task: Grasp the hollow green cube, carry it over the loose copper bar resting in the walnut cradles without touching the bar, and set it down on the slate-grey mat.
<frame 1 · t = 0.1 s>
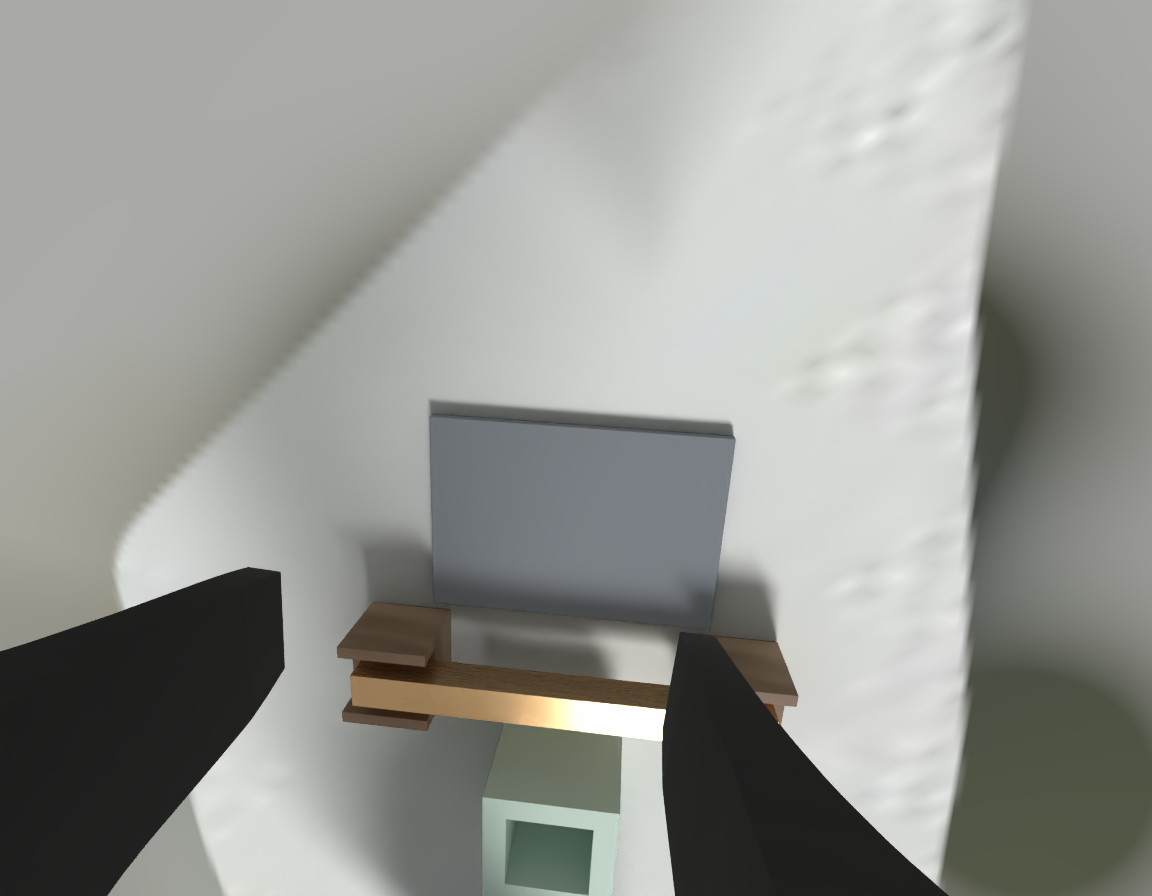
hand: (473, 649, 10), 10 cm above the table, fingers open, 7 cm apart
copper bar: (562, 688, 20), point 2 cm above the table, touching bar stand
hollow green cube: (561, 762, 23), on the table
bar stand: (567, 656, 22), on the table
slate mat: (575, 521, 20), on the table
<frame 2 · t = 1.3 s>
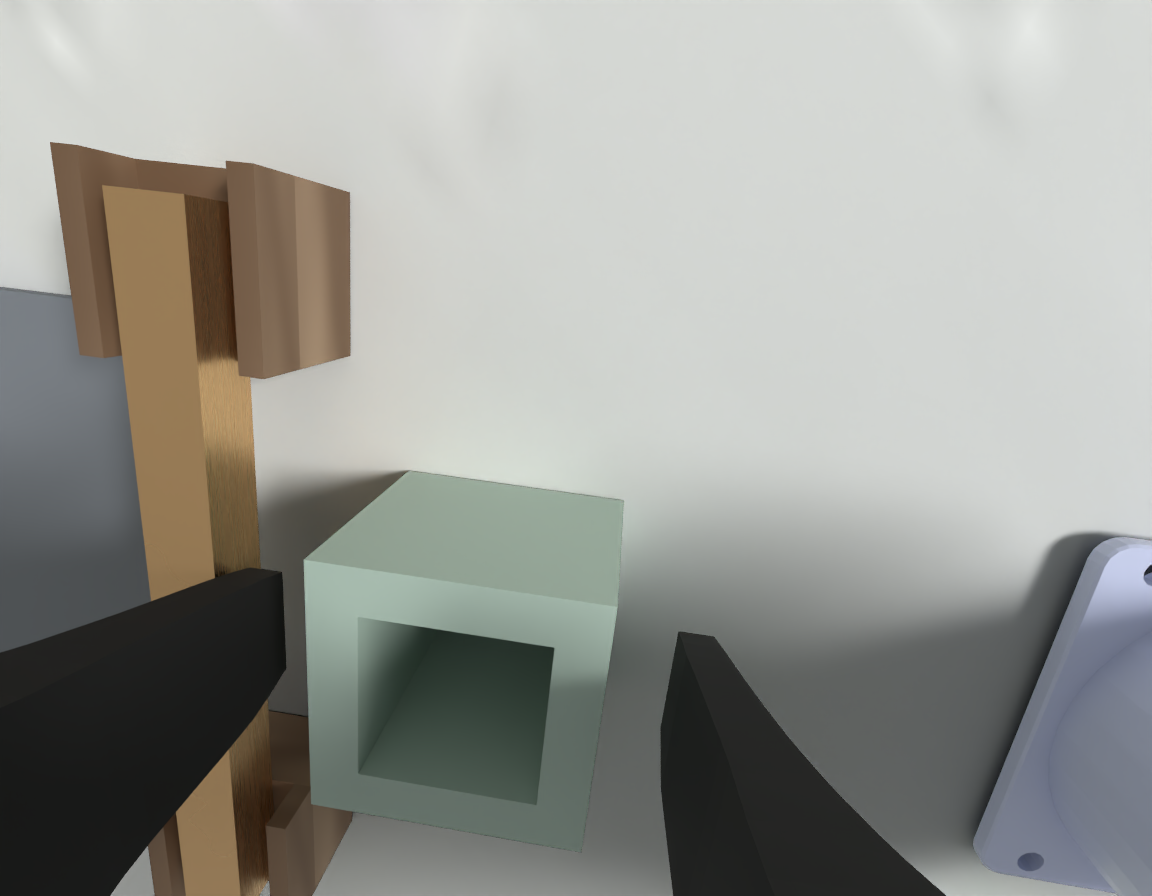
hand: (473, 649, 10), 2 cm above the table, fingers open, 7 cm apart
copper bar: (232, 590, 11), point 2 cm above the table, touching bar stand, gripper
hollow green cube: (506, 582, 13), on the table
bar stand: (286, 549, 13), on the table
slate mat: (55, 514, 13), on the table
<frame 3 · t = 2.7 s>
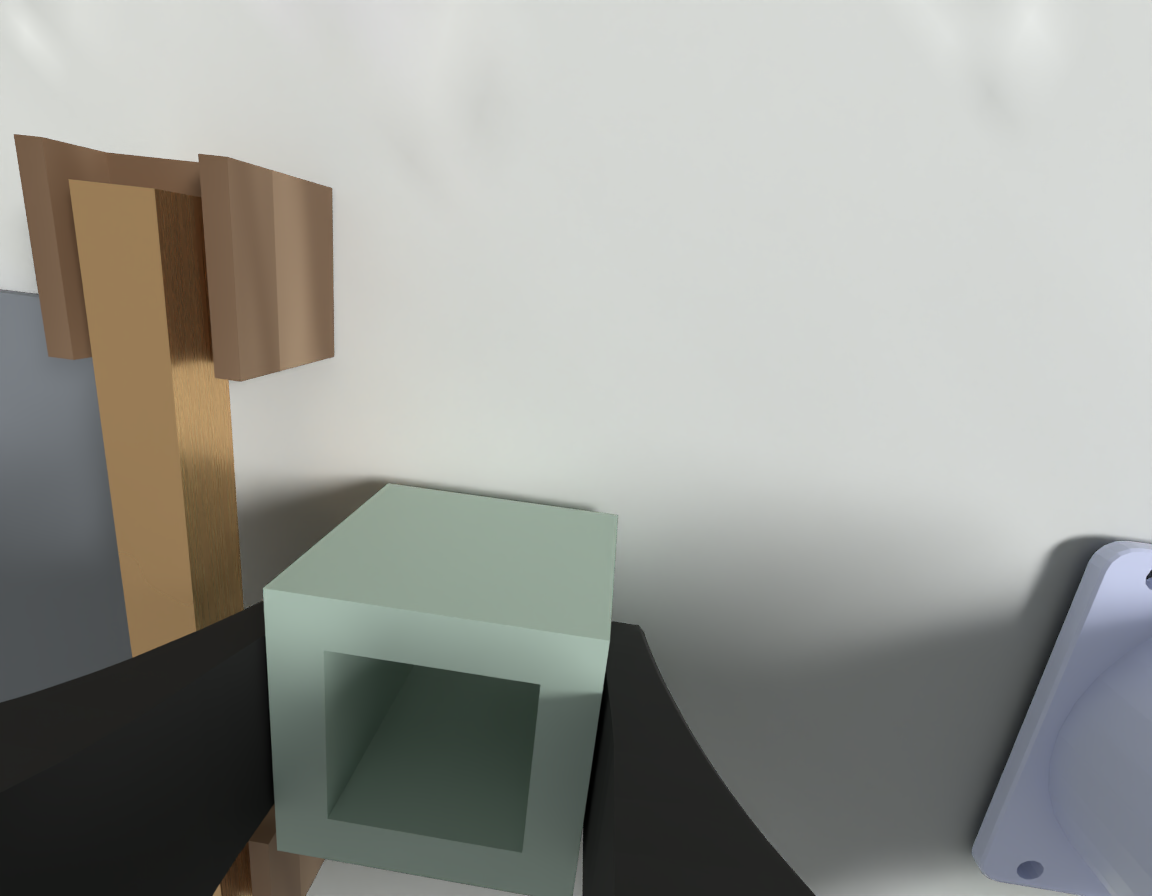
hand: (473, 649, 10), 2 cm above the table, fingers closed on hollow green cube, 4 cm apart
copper bar: (212, 599, 11), point 2 cm above the table, touching bar stand
hollow green cube: (493, 601, 12), on the table, touching gripper
bar stand: (269, 555, 13), on the table
slate mat: (31, 520, 13), on the table
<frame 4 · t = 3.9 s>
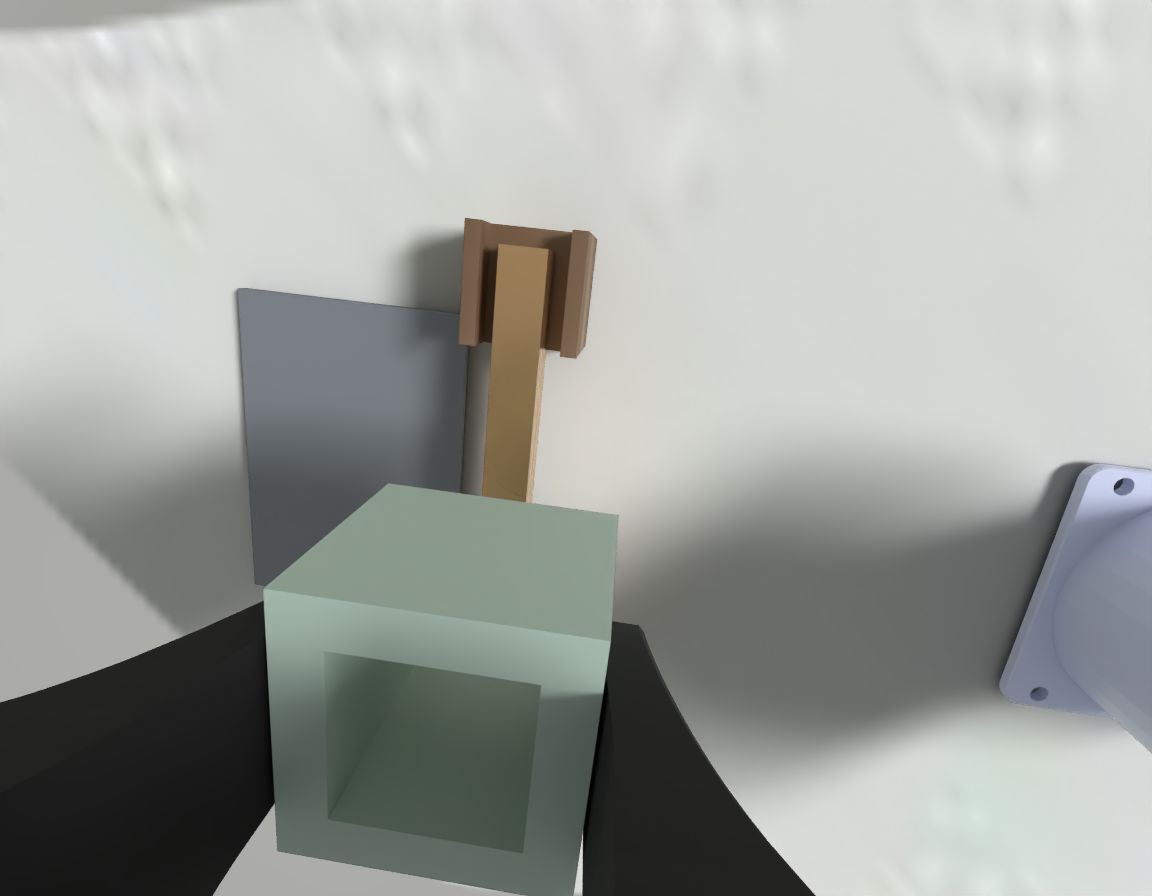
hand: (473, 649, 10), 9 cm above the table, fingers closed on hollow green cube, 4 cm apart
copper bar: (511, 501, 17), point 2 cm above the table, touching bar stand
hollow green cube: (494, 601, 12), point 7 cm above the table, touching gripper
bar stand: (522, 481, 19), on the table
slate mat: (357, 458, 19), on the table
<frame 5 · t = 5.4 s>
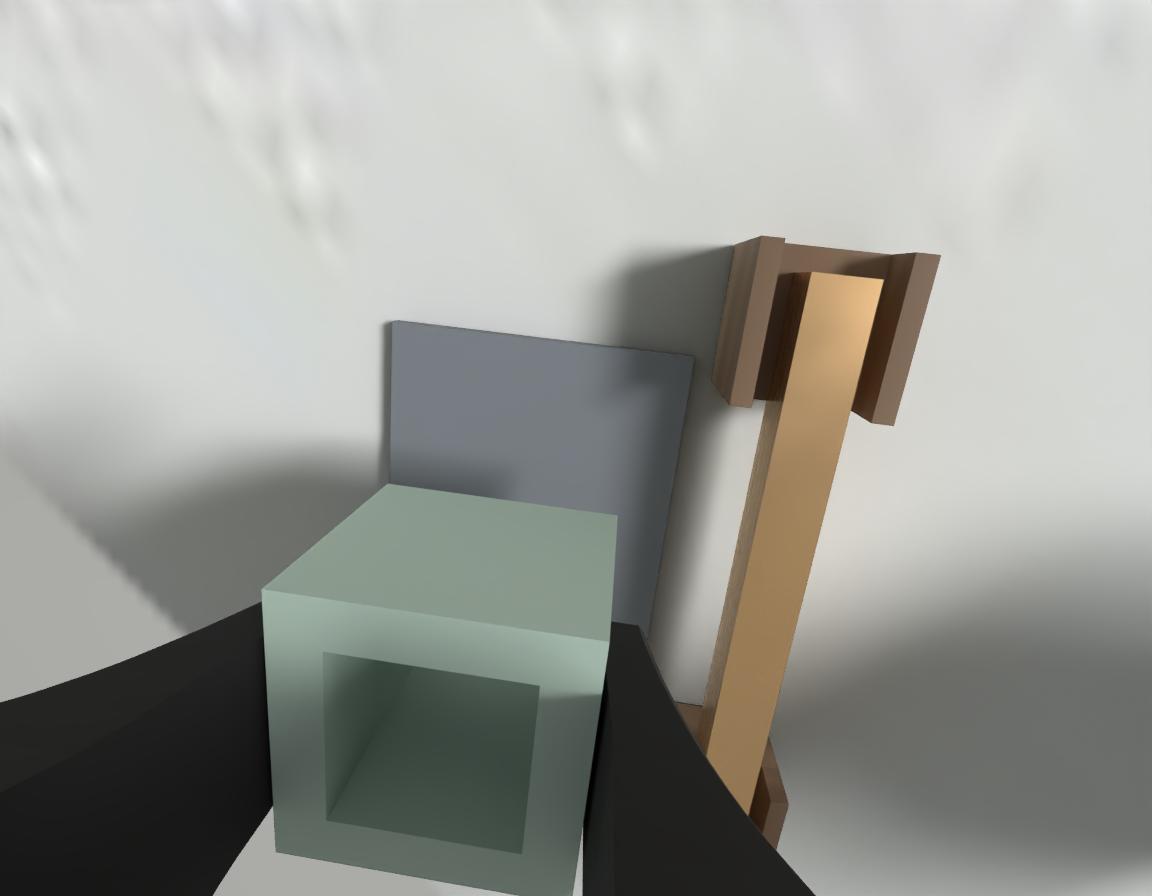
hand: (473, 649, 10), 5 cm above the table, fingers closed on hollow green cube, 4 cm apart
copper bar: (752, 599, 13), point 2 cm above the table, touching bar stand
hollow green cube: (493, 601, 12), point 3 cm above the table, touching gripper
bar stand: (738, 561, 15), on the table
slate mat: (525, 531, 15), on the table
when the fingers open (3 cm above the table, at t = 6.2 s): hollow green cube drops 1 cm, resting on slate mat.
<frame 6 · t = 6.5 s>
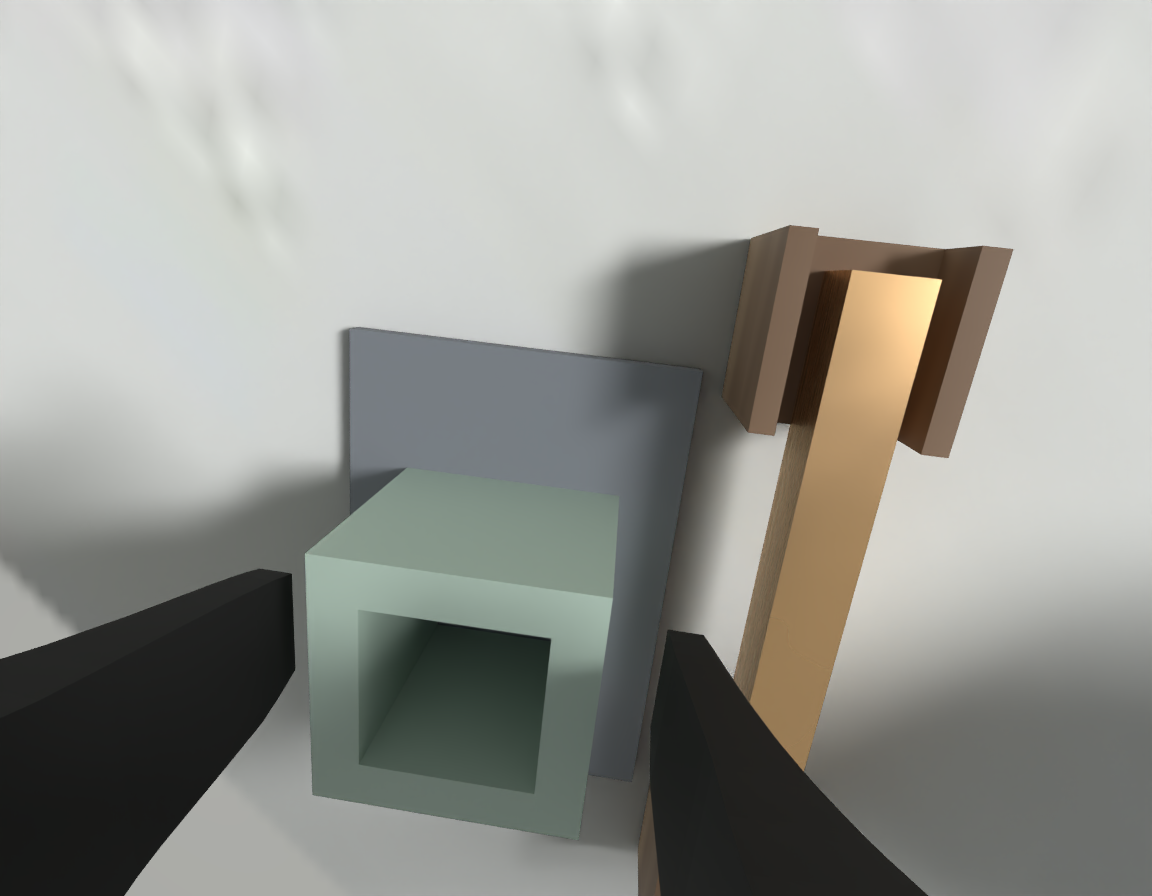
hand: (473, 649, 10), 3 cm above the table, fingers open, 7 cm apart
copper bar: (771, 654, 11), point 2 cm above the table, touching bar stand
hollow green cube: (504, 577, 13), resting on slate mat
bar stand: (752, 604, 13), on the table
slate mat: (508, 568, 13), on the table
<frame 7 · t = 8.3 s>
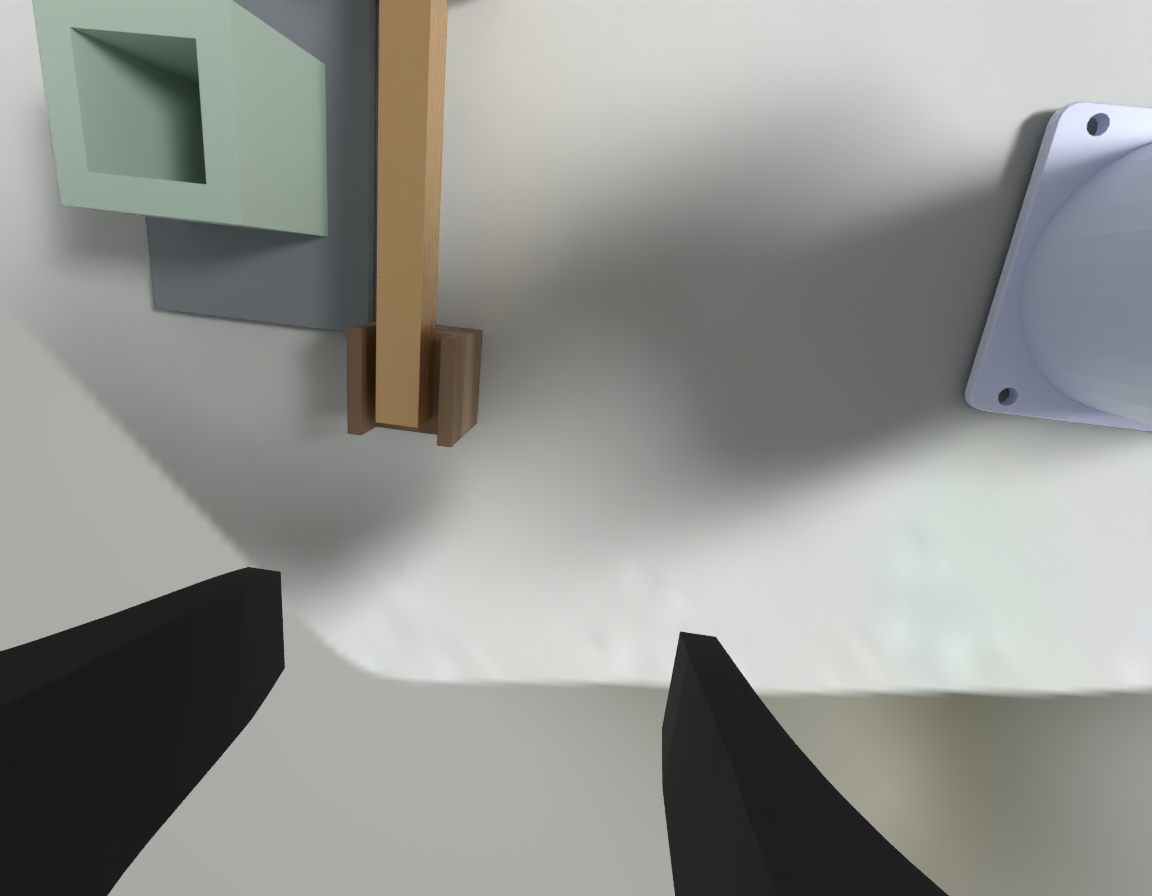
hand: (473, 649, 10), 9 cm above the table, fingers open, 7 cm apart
copper bar: (419, 155, 15), point 2 cm above the table, touching bar stand
hollow green cube: (251, 146, 17), resting on slate mat
bar stand: (441, 168, 17), on the table
slate mat: (260, 149, 17), on the table
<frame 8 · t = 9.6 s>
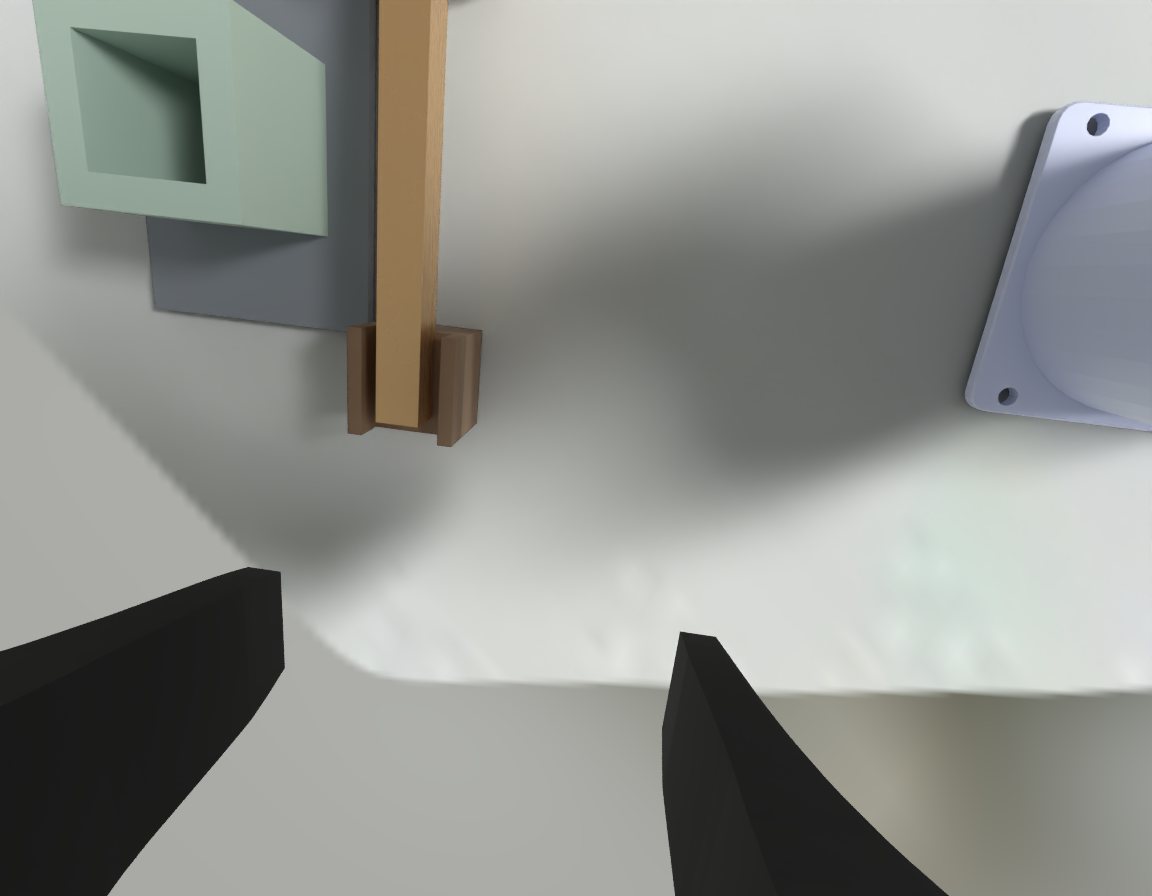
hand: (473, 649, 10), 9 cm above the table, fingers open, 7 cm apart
copper bar: (419, 155, 15), point 2 cm above the table, touching bar stand
hollow green cube: (251, 146, 17), resting on slate mat
bar stand: (441, 168, 17), on the table
slate mat: (260, 149, 17), on the table
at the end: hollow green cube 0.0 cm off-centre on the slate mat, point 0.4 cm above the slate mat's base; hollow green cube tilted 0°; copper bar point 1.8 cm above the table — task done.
